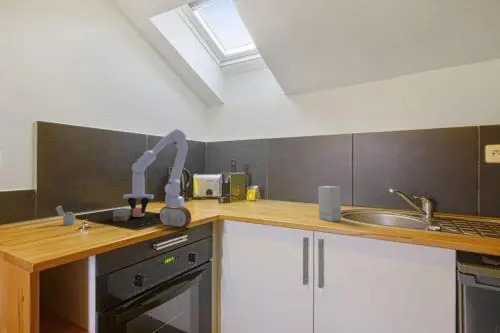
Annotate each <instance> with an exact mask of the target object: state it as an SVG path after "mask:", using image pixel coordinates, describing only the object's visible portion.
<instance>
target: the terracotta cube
mask: <svg viewBox="0 0 500 333" xmlns="http://www.w3.org/2000/svg"><path fill="white" fill-rule="evenodd" d="M144 216H145V213H142V206H141V207H139V206H136V208H133V213H132V217H133V218H134V217H135V218H137V217H138V218H140V217H144Z"/></svg>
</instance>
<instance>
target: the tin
mask: <svg viewBox="0 0 500 333" xmlns="http://www.w3.org/2000/svg"><path fill="white" fill-rule="evenodd" d="M159 220H160V222H161V224H163V225H164V226H166V227H172V228H179V229H180V228H185V227H188V226H189V225H190V224H191V221H192V214H191V212H190V210H189V209H188V208H187V207H185V206H184V207H180V206H170V205H169V206H166V207H165V206H164V207H162V208H161V209H160V210H159Z"/></svg>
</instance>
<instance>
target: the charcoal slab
mask: <svg viewBox="0 0 500 333" xmlns="http://www.w3.org/2000/svg"><path fill="white" fill-rule="evenodd" d="M112 214H113V215H112V216H113V217H114V216H118V217H124V216H128V215H130V216H131V208H129V209H128V208H120V209H116V210H112Z"/></svg>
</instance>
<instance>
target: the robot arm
mask: <svg viewBox="0 0 500 333" xmlns="http://www.w3.org/2000/svg"><path fill="white" fill-rule="evenodd" d="M171 143H173V144H174V146H175V147H176V148H177V152H176V154H175V155H176V156H175V160H174V164H173V167H172V170H171V174H170V177H169V180H168V183H166V185H165V186H164V192H165V197H164V198H165V199H164V200H165V202H164V203H165V206H164V207H166V206H169V205H170V206H180V207H185V198H184V196H180V193H181V178H182V173H183V169H184V166H185V161H186V158H187V155H188V151H189V146H188V141H187V135H186V134H185V132H184V131H183V130H182V129H179V128H176V129H174V130H172V131H170V132H169V133H167V134H166V135H165V136H164V137H162V138H161V140H160V141H159V142H158V143H157V144H156V145H155V146H154V147H153V148H152V149H150V150H146V151H144V152H143V154H142V155H141V156H140V157H139V158H137V159H136V162H134V163H133V164H132V165H131V171H132V180H131V181H132V185H131V186H132V192H131V194H128V193H127V194H123V196H122V198H123V199H125V200H127V202H128V204H129V206H130V210H131V213H132V214H133V208H136V207H137V199H140V204H141V207H142V213H144V214H145V212H146V209H147V205H148V203H149V201H150V200H153V199H154V197H155V195H154V194H148V193H146V189H145V188H146V185H145V183H146V182H145V180H146V177H145V172H146V169H147V168H148V167H149V166H150V165H151V164H152V163H153V162H154V161H155V160H156V159H157V154H159V152H160V151H162V150H163V149H164V148H165V147H166V146H167V145H169V144H171Z"/></svg>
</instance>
